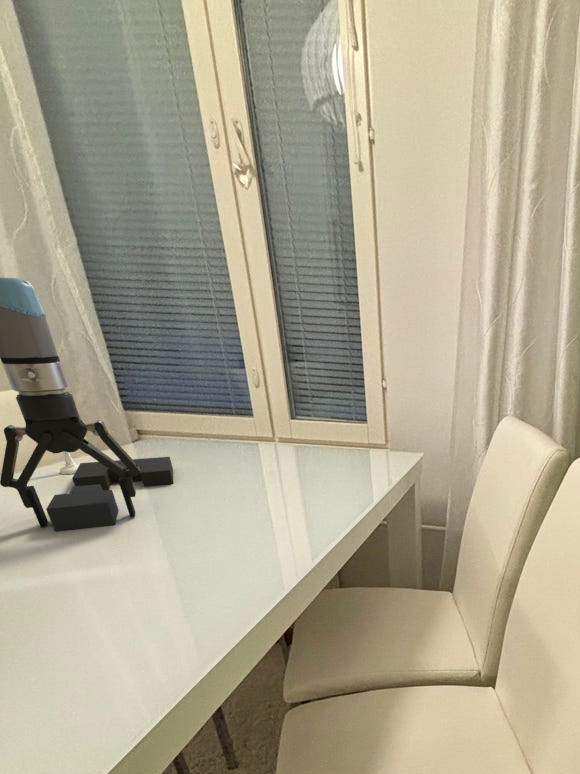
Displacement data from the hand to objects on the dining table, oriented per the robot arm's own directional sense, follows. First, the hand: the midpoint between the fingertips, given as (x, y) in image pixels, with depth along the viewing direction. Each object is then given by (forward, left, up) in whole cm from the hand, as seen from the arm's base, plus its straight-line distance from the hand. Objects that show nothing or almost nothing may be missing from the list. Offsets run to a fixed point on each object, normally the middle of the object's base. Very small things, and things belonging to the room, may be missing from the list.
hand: (90, 519), depth 99 cm
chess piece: (-7, +41, 0) cm, 42 cm away
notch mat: (+5, +28, 0) cm, 28 cm away
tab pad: (0, +3, 0) cm, 3 cm away
